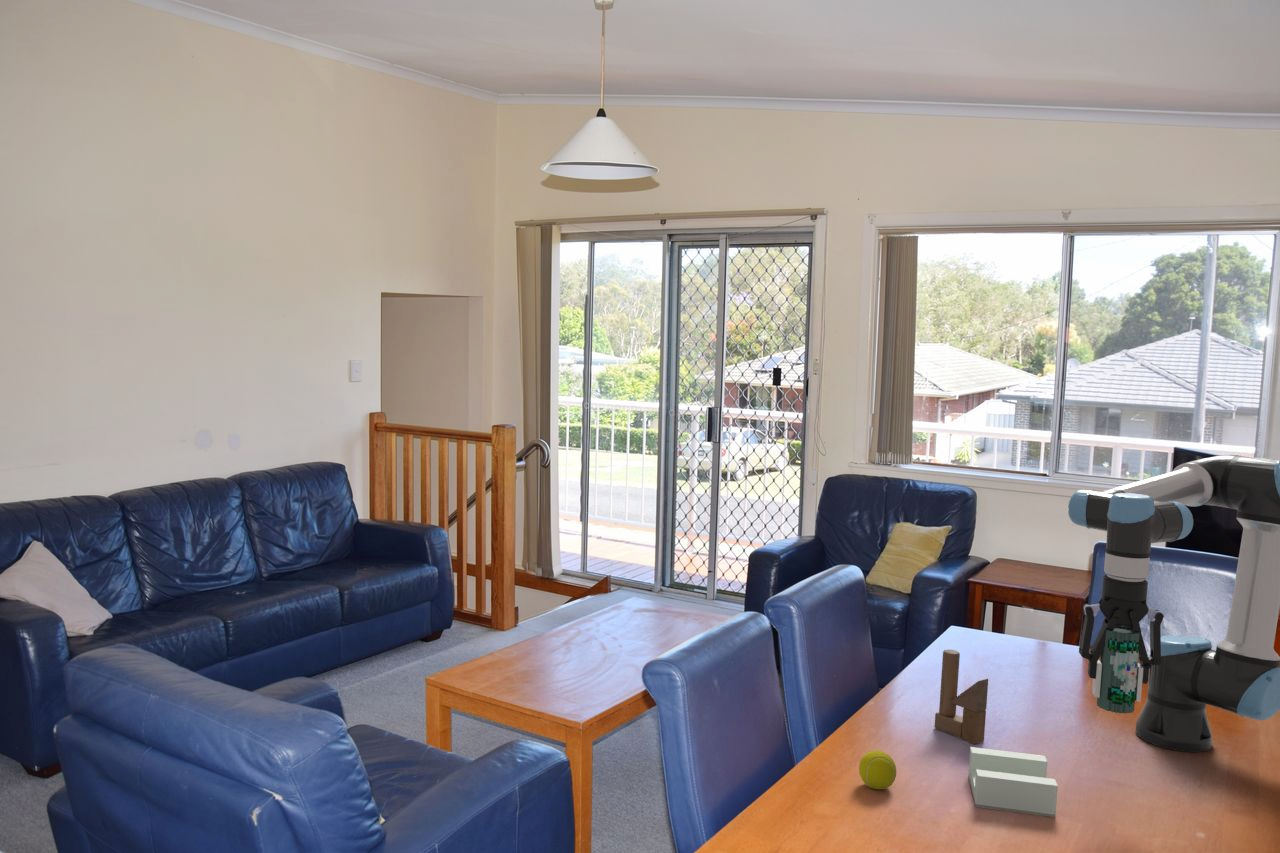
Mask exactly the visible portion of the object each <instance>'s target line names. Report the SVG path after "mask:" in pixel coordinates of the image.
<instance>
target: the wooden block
mask: <svg viewBox="0 0 1280 853" xmlns="http://www.w3.org/2000/svg"><path fill="white" fill-rule="evenodd" d="M960 658H961V653H960V652H959V651H958V650H956V649H944V650H943V652H942V660H941V661H942V663H941V675H940V676H941V677H940V694H939V707H938V712H936V713H935V715H934V728H935V729H936V730H939V731H940V732H941V731H942V732H943V733H946V734H949V735H951V736H954V737H956V738H958V739H961V740H962V741H965V742H967V743H970V744H972V745H977V744H981V743H983V742H984V741H985V731H986V717H987V705H988V691H989V690H988V688H989V678H984V679H981V680H978V681H976V682H975V683H974V684H972V685H971V686H969V687H968V688H966V689H965V690H964V691H963V692H961V693H960V694H958V687H959V686H958V684H959V675H960V674H959V672H960V670H959V669H960V660H961V659H960ZM957 706H958V707H961V708H963V710H962V716H961V715H958V714H957Z"/></svg>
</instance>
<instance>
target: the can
mask: <svg viewBox="0 0 1280 853" xmlns="http://www.w3.org/2000/svg"><path fill="white" fill-rule="evenodd" d="M1103 629H1104V628H1103ZM1139 636H1140V633H1133V632H1132V631H1131V629H1130V628H1128V627H1125V626H1119V627H1117V626H1115V628H1114V630H1113V631H1111V630H1106V639H1105V647H1104V649H1103V651H1102V653H1101V655H1100V657H1099V660H1100V662H1101V663H1102V671H1101V684H1100V697H1099V698H1097V697H1096V706H1097V707H1099V708H1100V709H1102V710H1105V711H1107V712H1112V713H1116V714H1117V713H1118V714H1132V713H1134V711H1135V708H1136V707H1135V705H1136V701H1135V695H1136V682H1137V670H1138V663H1139Z"/></svg>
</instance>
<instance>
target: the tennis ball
mask: <svg viewBox="0 0 1280 853" xmlns="http://www.w3.org/2000/svg"><path fill="white" fill-rule="evenodd" d="M858 771H859V776H860V779H861V780H862V782H863V783H864V784H865V785H866V786H867V787H869V788H871V789H874V790H885V789H888V788H889V787H891V786H892V785H893V783H894V782H895V781H896V777H897V766H896V763H895V761H894V759H893V758H892V756H890V755H889V754H888V753H887V752H884V751H882V750H871V751H868V752H866V753H865V754H864V755H863V756H862V757H861V758H860V761H859V764H858Z"/></svg>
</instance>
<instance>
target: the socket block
mask: <svg viewBox="0 0 1280 853" xmlns="http://www.w3.org/2000/svg"><path fill="white" fill-rule="evenodd" d="M968 760H969V762H968V775H967V776H968V780H969V784H970V787H971V788H970V789H971V792H972V793H971V794H972V797H973V802H974V806H975V808H982V809H987V810H988V809H989V810H999V811H1003V812H1004V811H1005V812H1011V813H1021V814H1025V815H1026V814H1027V815H1033V816H1034V815H1036V816H1043V817H1049V818H1050V817H1051V818H1056V814H1057V801H1058V787H1059V785H1058V783H1057V781H1056V779H1055V778H1050V777H1049V778H1048V777H1047V774H1048V771H1047V770H1048V759H1047V758H1046V756H1045V755H1042V754H1032V753H1025V752H1024V753H1023V752H1016V751H1009V750H1008V751H1007V750H999V749H998V750H997V749H991V748H983V747H974V746H970V747H969V759H968Z"/></svg>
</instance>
